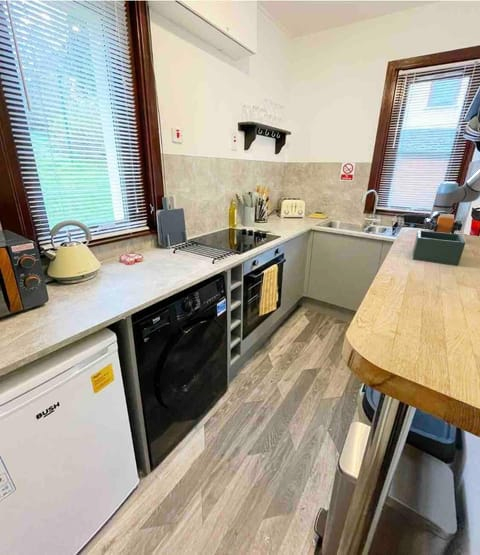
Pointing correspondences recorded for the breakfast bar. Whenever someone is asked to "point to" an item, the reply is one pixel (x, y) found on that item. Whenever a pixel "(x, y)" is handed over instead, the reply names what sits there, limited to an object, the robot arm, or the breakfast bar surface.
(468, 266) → the breakfast bar surface
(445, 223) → the block
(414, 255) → the waste bin
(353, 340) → the breakfast bar surface
